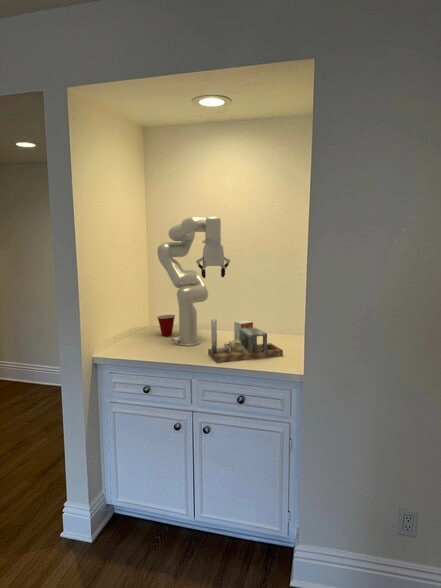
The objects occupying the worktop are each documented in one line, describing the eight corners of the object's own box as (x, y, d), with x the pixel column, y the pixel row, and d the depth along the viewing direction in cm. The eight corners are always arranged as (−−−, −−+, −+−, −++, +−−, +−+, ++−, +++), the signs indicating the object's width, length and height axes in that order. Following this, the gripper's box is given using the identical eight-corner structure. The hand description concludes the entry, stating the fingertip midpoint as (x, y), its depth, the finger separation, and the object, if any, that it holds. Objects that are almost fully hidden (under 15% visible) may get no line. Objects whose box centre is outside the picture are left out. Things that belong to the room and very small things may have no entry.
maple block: (232, 352, 207) (232, 343, 206) (229, 349, 211) (229, 340, 210) (241, 351, 208) (241, 342, 207) (237, 349, 212) (237, 340, 211)
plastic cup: (164, 332, 261) (164, 313, 259) (179, 334, 255) (178, 314, 254) (153, 336, 252) (152, 316, 250) (168, 338, 246) (167, 318, 244)
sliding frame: (214, 354, 202) (213, 321, 200) (209, 350, 209) (209, 318, 207) (243, 351, 207) (243, 319, 204) (238, 347, 214) (238, 316, 211)
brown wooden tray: (216, 363, 200) (216, 338, 198) (208, 354, 213) (207, 331, 211) (282, 356, 210) (283, 332, 208) (270, 348, 223) (271, 326, 221)
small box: (240, 347, 225) (240, 323, 223) (234, 345, 231) (233, 321, 229) (253, 345, 230) (253, 321, 228) (246, 343, 235) (246, 319, 233)
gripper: (197, 242, 203) (198, 278, 205) (232, 242, 208) (232, 277, 210) (193, 242, 210) (194, 277, 212) (227, 242, 215) (227, 276, 217)
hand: (213, 277), depth 211 cm, fingers open, 9 cm apart
